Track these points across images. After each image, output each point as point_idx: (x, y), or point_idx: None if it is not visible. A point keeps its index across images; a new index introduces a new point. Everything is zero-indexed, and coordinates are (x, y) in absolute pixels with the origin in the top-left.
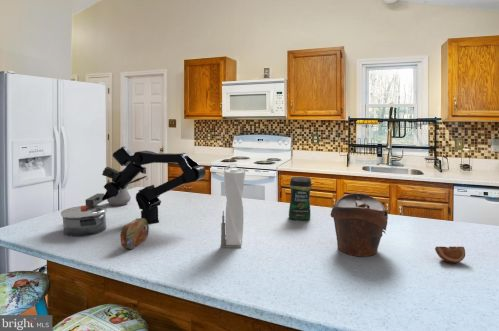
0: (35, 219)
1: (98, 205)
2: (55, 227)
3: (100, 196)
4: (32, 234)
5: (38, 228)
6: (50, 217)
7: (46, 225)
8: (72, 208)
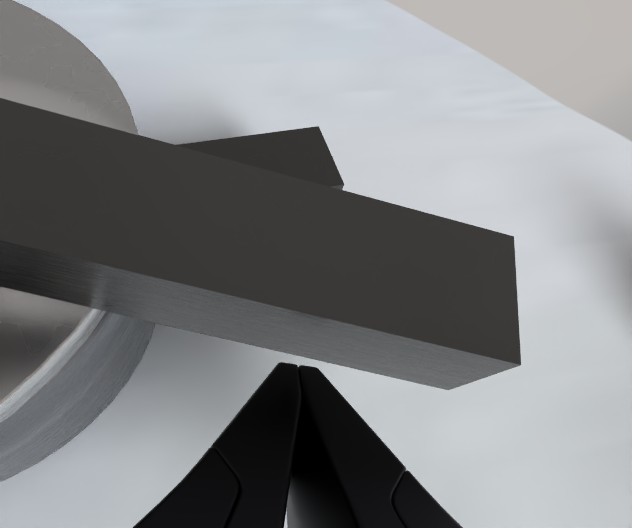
0: (389, 11)
1: (48, 346)
2: (173, 98)
3: (306, 319)
4: (57, 10)
5: (187, 28)
6: (422, 63)
7: (243, 56)
8: (23, 52)
